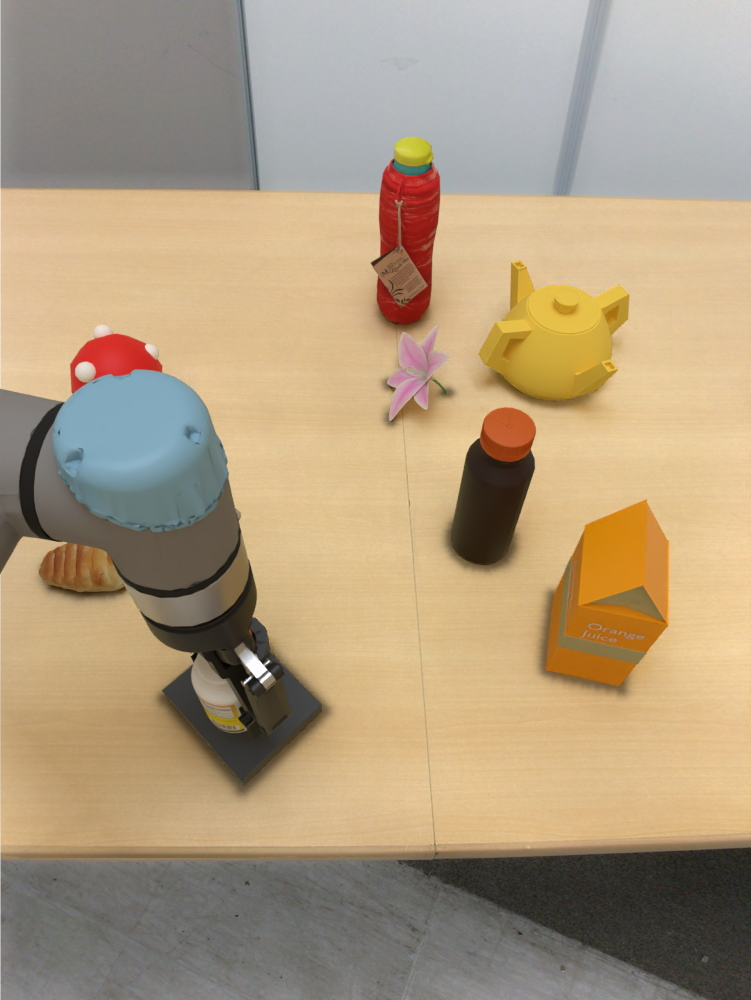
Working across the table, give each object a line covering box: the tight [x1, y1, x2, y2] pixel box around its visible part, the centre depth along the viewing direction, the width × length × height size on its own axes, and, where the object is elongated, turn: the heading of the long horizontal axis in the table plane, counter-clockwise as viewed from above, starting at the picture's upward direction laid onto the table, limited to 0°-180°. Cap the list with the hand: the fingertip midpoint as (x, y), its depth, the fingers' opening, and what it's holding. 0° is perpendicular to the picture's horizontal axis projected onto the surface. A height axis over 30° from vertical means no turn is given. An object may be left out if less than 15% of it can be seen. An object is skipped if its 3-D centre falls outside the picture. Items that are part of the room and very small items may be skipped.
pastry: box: [38, 542, 125, 593], centre depth 80 cm, size 9×7×4 cm
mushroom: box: [69, 324, 163, 395], centre depth 89 cm, size 11×11×12 cm
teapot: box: [477, 259, 630, 402], centre depth 95 cm, size 17×17×12 cm
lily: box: [386, 324, 451, 422], centre depth 94 cm, size 12×12×10 cm
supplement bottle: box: [191, 653, 258, 733], centre depth 62 cm, size 6×6×10 cm
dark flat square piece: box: [161, 616, 323, 786], centre depth 72 cm, size 13×11×4 cm
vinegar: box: [450, 406, 537, 565], centre depth 76 cm, size 7×7×20 cm
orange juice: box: [544, 498, 670, 687], centre depth 70 cm, size 8×9×20 cm
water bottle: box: [370, 136, 441, 325], centre depth 95 cm, size 12×8×25 cm, turn 161°
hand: (240, 700), depth 66 cm, fingers closed on supplement bottle, 6 cm apart
